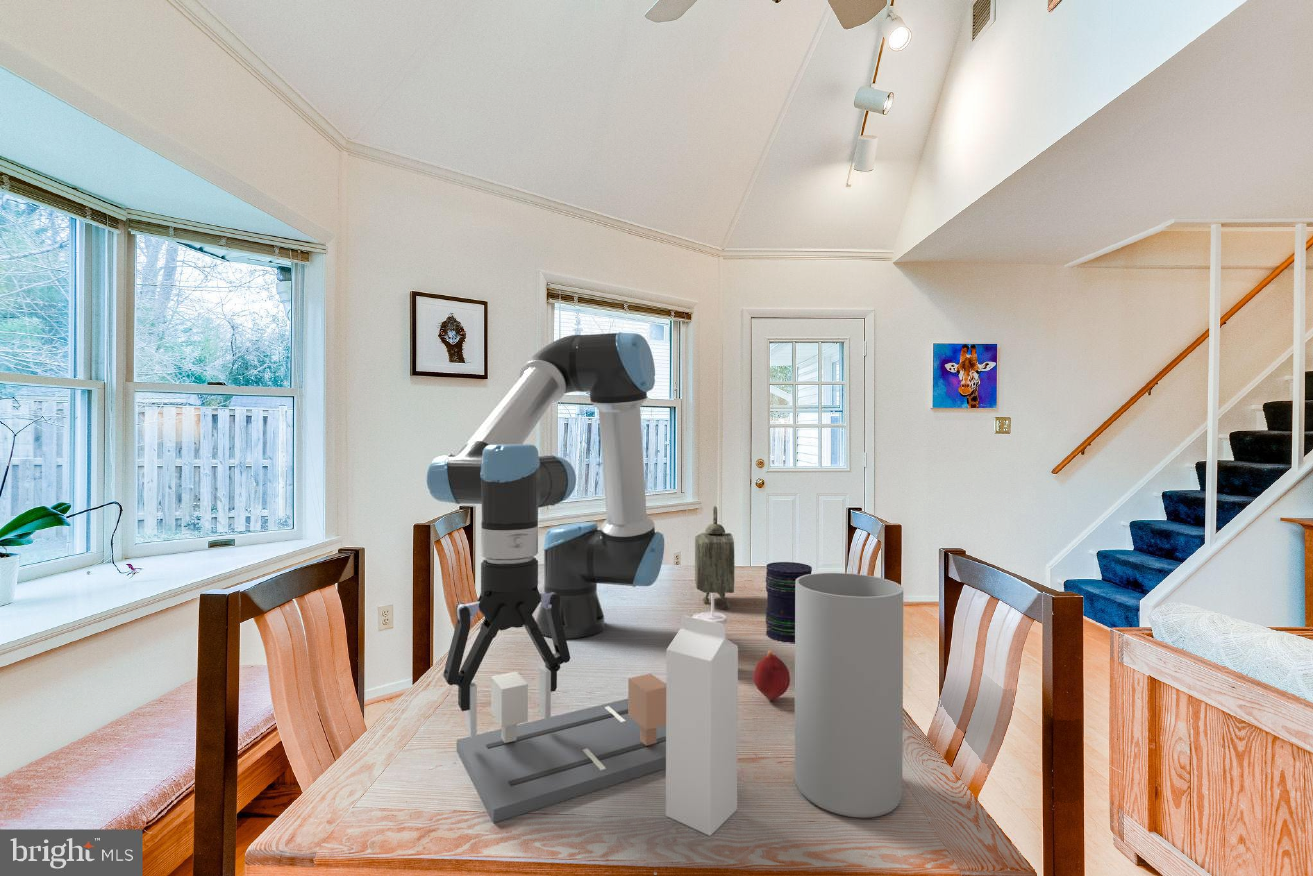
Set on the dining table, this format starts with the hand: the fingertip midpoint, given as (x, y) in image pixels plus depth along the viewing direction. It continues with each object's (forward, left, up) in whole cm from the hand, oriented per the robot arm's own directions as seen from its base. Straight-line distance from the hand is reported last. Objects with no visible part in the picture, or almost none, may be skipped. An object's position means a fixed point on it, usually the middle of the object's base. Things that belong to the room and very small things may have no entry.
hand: (509, 723), depth 83 cm
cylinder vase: (+29, +33, -4) cm, 44 cm away
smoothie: (-11, +41, -4) cm, 43 cm away
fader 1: (0, 0, -2) cm, 2 cm away
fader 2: (+10, +16, -2) cm, 19 cm away
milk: (+24, +15, -4) cm, 29 cm away
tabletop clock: (-47, +68, -4) cm, 83 cm away
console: (+5, +8, -4) cm, 10 cm away
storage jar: (-18, +67, -4) cm, 69 cm away
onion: (+5, +42, -4) cm, 42 cm away
